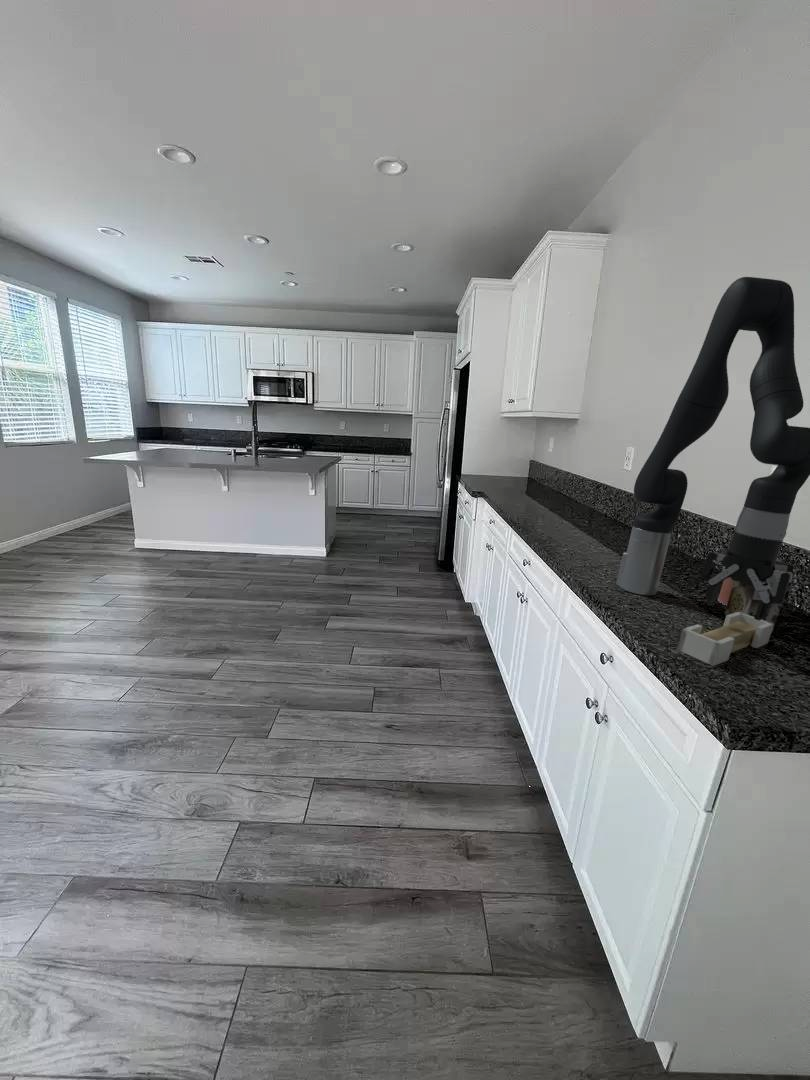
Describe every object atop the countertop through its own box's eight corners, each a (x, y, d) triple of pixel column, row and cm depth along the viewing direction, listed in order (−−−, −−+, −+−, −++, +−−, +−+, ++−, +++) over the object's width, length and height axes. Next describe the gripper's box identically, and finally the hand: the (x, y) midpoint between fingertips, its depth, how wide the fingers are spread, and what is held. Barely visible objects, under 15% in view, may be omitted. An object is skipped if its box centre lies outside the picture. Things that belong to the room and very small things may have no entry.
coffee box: (774, 633, 99) (796, 566, 95) (742, 628, 100) (763, 561, 96) (751, 617, 108) (771, 555, 104) (722, 613, 109) (741, 551, 105)
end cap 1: (677, 649, 86) (682, 628, 85) (692, 644, 89) (697, 624, 88) (713, 666, 81) (720, 644, 80) (728, 660, 84) (734, 638, 83)
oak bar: (692, 654, 86) (697, 635, 85) (733, 638, 95) (738, 621, 94) (710, 662, 83) (716, 643, 82) (751, 645, 92) (757, 627, 91)
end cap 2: (767, 643, 93) (774, 624, 92) (755, 648, 90) (762, 628, 89) (732, 630, 99) (738, 611, 97) (720, 634, 96) (726, 615, 94)
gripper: (709, 524, 87) (687, 599, 92) (797, 545, 76) (767, 629, 80) (726, 522, 91) (705, 594, 96) (813, 542, 80) (784, 622, 84)
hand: (733, 610), depth 88 cm, fingers open, 8 cm apart
